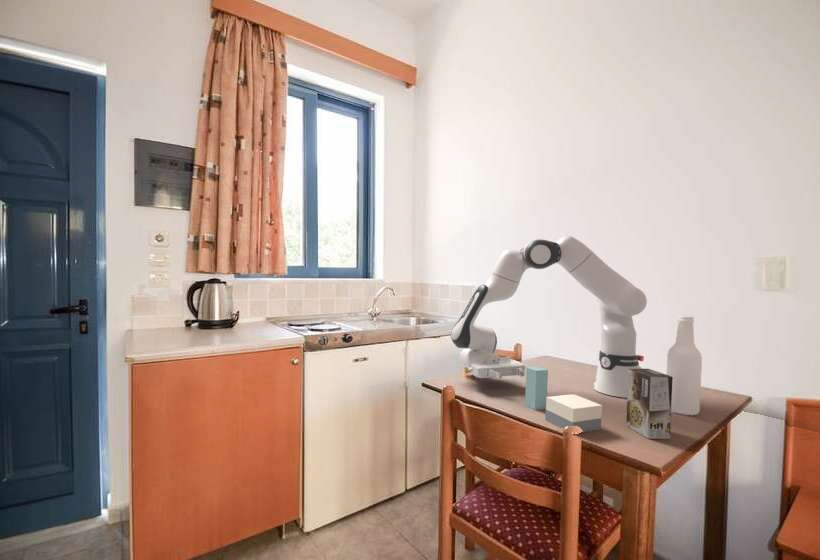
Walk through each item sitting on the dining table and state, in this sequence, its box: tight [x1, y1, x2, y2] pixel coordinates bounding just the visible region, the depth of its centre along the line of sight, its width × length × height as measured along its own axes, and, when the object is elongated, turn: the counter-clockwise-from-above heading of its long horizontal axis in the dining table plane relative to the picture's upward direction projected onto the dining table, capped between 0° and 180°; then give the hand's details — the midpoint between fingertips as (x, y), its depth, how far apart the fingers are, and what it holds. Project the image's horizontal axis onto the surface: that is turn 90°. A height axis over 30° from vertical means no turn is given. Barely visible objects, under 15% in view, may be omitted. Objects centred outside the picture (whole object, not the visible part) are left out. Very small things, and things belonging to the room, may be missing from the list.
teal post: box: [524, 366, 549, 411], centre depth 119 cm, size 4×4×12 cm
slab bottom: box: [544, 409, 602, 433], centre depth 105 cm, size 10×10×4 cm
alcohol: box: [666, 314, 703, 417], centre depth 120 cm, size 9×9×30 cm
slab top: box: [545, 393, 603, 422], centre depth 105 cm, size 10×10×4 cm
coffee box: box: [625, 368, 673, 440], centre depth 102 cm, size 9×6×16 cm
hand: (511, 375), depth 130 cm, fingers open, 8 cm apart
